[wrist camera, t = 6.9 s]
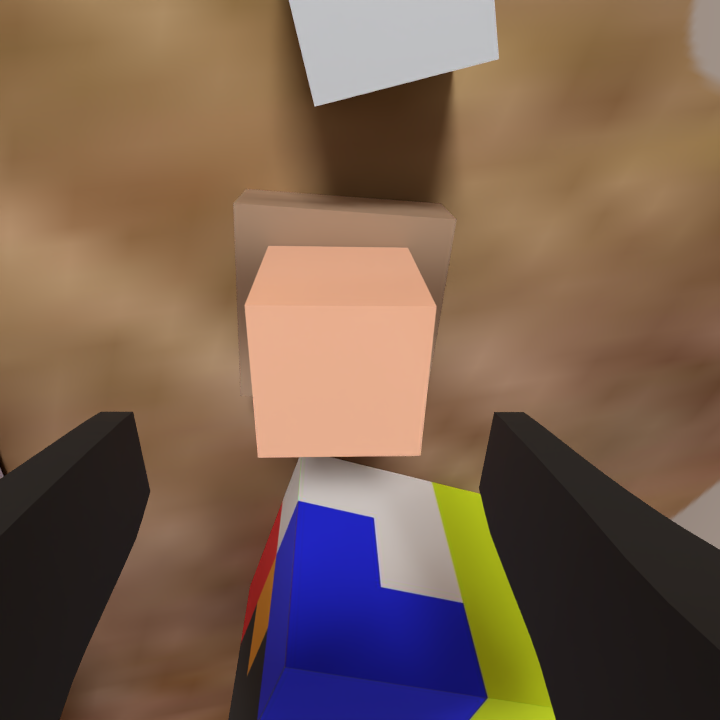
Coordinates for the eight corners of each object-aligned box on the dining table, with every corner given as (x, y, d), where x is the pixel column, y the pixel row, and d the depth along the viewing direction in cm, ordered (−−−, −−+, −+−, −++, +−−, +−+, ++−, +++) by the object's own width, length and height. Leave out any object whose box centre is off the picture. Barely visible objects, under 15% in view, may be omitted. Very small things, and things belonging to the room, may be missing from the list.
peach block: (398, 368, 18) (420, 455, 14) (275, 367, 18) (257, 457, 14) (407, 247, 16) (436, 306, 12) (268, 246, 16) (244, 305, 12)
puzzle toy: (302, 449, 23) (284, 667, 14) (491, 495, 25) (576, 711, 17) (250, 585, 28) (212, 816, 19) (415, 615, 30) (450, 837, 21)
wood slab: (414, 365, 22) (425, 403, 19) (251, 358, 21) (240, 395, 19) (439, 201, 18) (456, 219, 16) (248, 186, 18) (233, 203, 15)
